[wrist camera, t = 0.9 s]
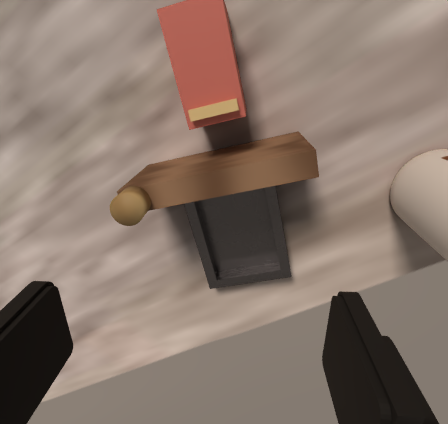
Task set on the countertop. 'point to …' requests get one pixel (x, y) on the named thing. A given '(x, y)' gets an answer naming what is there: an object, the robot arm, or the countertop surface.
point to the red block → (203, 61)
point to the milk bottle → (424, 197)
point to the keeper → (240, 237)
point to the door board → (215, 175)
